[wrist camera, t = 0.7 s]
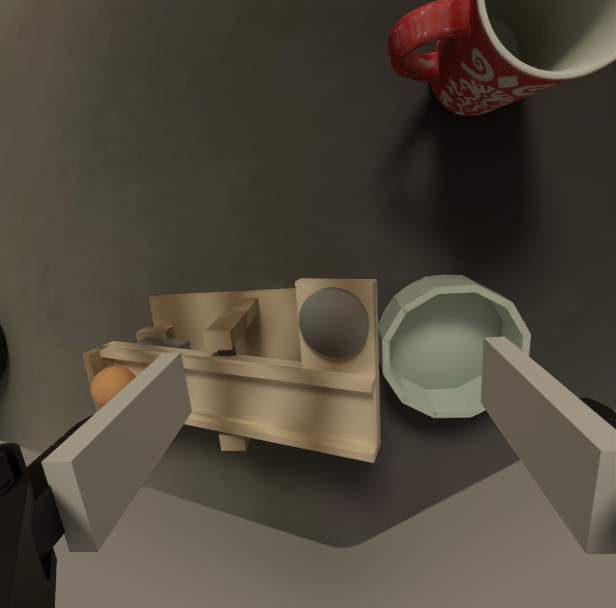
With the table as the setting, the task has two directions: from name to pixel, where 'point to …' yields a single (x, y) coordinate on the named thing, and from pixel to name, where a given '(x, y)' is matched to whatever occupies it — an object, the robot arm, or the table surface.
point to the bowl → (444, 342)
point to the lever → (285, 376)
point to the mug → (502, 48)
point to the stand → (230, 328)
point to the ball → (109, 383)
